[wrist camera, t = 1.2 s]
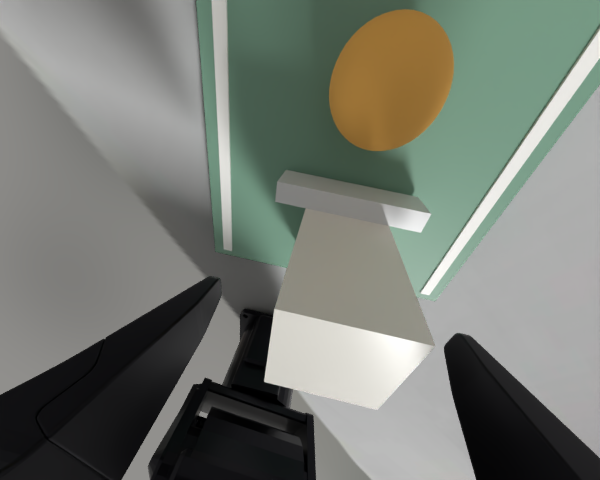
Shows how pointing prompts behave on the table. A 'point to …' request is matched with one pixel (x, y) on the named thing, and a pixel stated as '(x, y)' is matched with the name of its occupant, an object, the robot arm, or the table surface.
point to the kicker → (347, 294)
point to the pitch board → (403, 160)
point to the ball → (391, 80)
